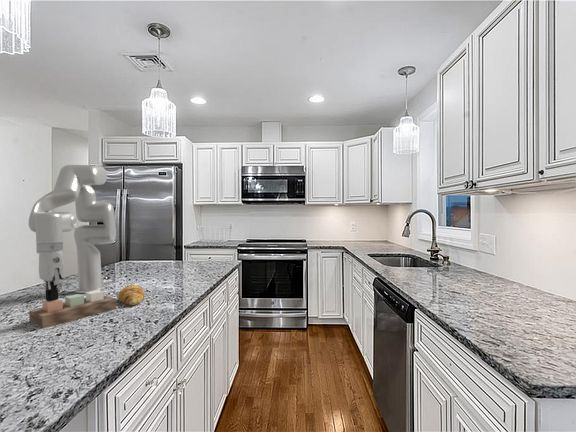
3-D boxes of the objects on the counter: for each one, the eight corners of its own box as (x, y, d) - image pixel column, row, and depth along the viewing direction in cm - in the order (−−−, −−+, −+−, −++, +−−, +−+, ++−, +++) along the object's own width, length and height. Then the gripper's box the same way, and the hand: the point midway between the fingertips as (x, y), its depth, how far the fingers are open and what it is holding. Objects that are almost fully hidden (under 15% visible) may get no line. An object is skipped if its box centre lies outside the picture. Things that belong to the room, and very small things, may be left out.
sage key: (78, 304, 124) (78, 294, 124) (84, 306, 121) (83, 295, 121) (65, 307, 120) (64, 296, 120) (70, 309, 118) (70, 298, 118)
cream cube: (98, 299, 130) (97, 289, 130) (103, 301, 127) (103, 291, 127) (85, 302, 126) (85, 292, 126) (91, 304, 123) (91, 294, 123)
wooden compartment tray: (100, 304, 134) (100, 294, 134) (116, 308, 127) (115, 298, 127) (29, 321, 115) (29, 310, 114) (43, 328, 108) (42, 316, 108)
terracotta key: (57, 309, 118) (57, 298, 118) (62, 311, 116) (62, 300, 116) (42, 312, 115) (42, 301, 114) (48, 315, 112) (47, 303, 112)
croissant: (141, 314, 131) (151, 295, 132) (116, 306, 126) (126, 287, 128) (136, 300, 149) (144, 284, 151) (113, 293, 144) (122, 276, 146)
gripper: (71, 247, 113) (73, 300, 114) (53, 245, 122) (55, 295, 122) (45, 250, 107) (48, 306, 107) (29, 248, 116) (31, 299, 116)
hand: (52, 300), depth 115 cm, fingers closed
